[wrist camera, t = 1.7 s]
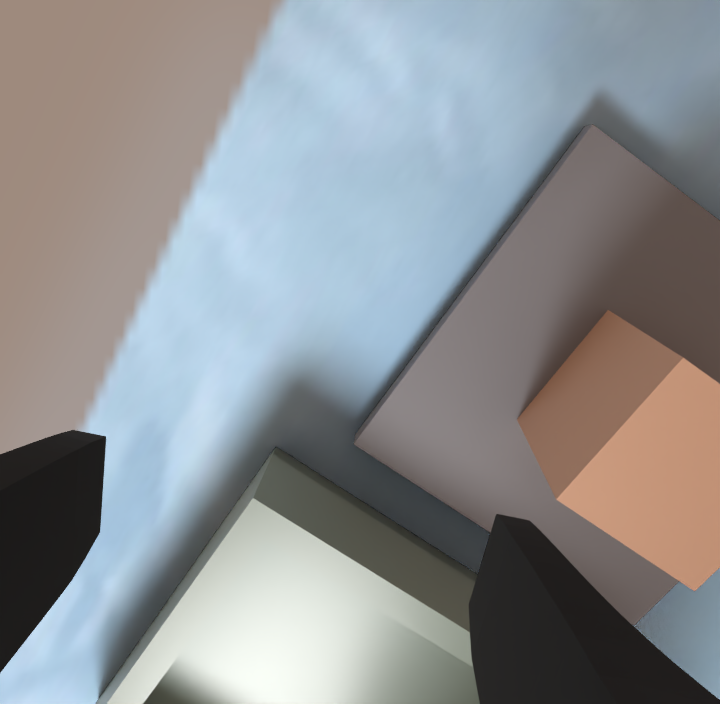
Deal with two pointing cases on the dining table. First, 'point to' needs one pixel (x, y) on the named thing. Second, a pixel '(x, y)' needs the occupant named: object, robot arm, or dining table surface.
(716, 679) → the dining table surface
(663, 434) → the clay block
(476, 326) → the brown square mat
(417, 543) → the olive bin
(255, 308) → the dining table surface
